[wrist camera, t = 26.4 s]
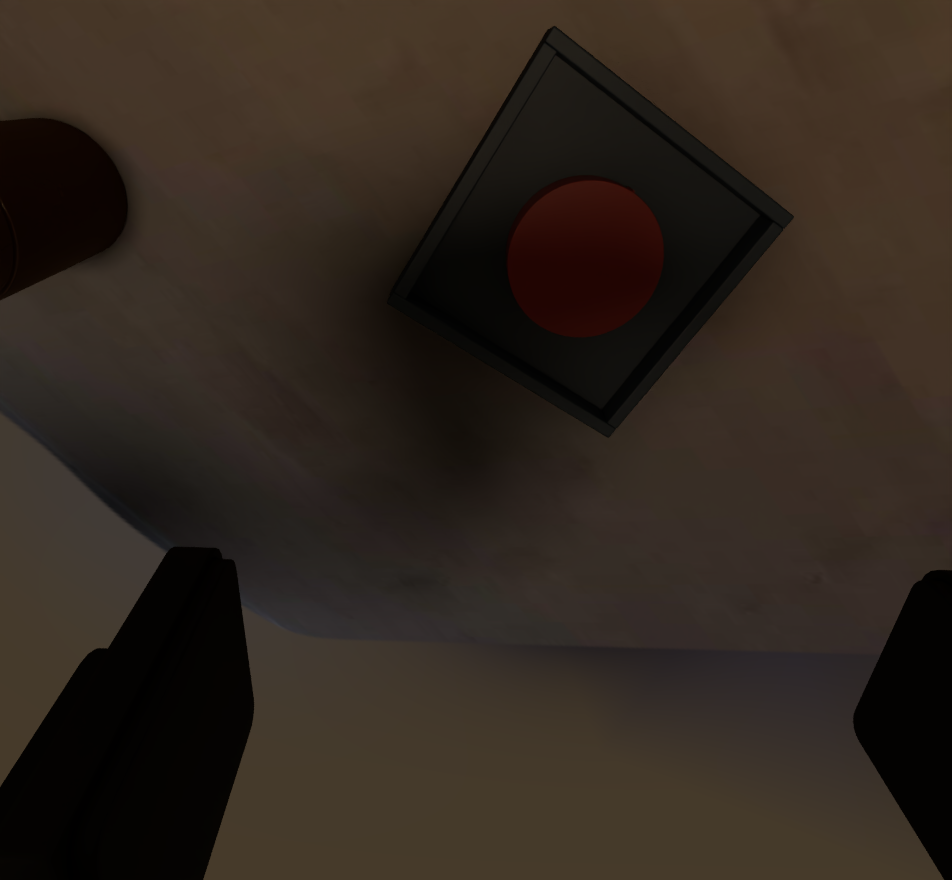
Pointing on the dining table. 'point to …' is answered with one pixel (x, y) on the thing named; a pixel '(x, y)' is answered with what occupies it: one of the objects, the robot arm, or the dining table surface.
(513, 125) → the tray
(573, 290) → the jar lid
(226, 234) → the dining table surface
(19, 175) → the jar
